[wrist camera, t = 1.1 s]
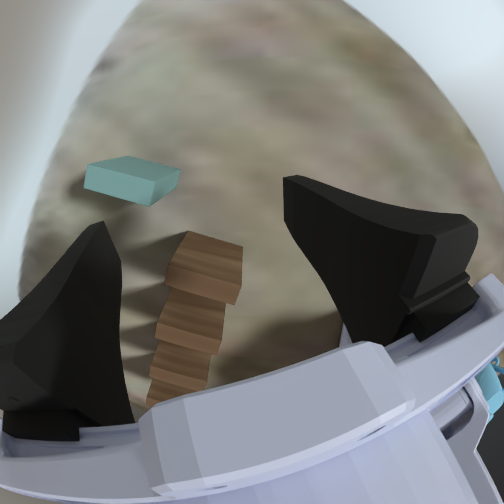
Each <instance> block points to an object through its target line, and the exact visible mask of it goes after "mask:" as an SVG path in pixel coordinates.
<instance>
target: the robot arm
mask: <svg viewBox="0 0 504 504" xmlns="http://www.w3.org/2000/svg"><path fill="white" fill-rule="evenodd" d="M283 197H284V221H285V223H286V225H287V228H288V230H289V232H290V233H291V235H292V237H293V239H294V240H295V242H296V243H297V245H298V246H299V248H300V249H301V250H302V252H303V253H304V255H305V256H306V258H307V259H308V260H309V262H310V263H311V265H312V266H313V267H314V269H315V270H316V272H317V273H318V274H319V276H320V277H321V279H322V281H323V282H324V284H325V286H326V287H327V289H328V291H329V293H330V295H331V297H332V299H333V301H334V303H335V305H336V307H337V309H338V311H339V313H340V316H341V318H342V320H343V328H342V333H341V338H340V344H339V347H338V348H336V349H333V350H331V351H328V352H326V353H323V354H320V355H318V356H315V357H312V358H310V359H307V360H304V361H301V362H298V363H296V364H293V365H290V366H287V367H284V368H281V369H278V370H275V371H272V372H268V373H265V374H262V375H259V376H255V377H252V378H249V379H245V380H242V381H238V382H234V383H231V384H227V385H223V386H219V387H215V388H211V389H207V390H203V391H198V392H194V393H190V394H185V395H182V396H179V397H176V398H173V399H169V400H166V401H163V402H160V403H157V404H155V405H154V406H153V407H152V408H151V409H149V410H148V411H147V412H146V413H145V414H144V415H143V416H142V417H141V418H140V419H139V420H138V423H135V421H134V417H133V414H132V410H131V407H130V402H129V398H128V394H127V389H126V384H125V379H124V373H123V366H122V359H121V350H120V340H119V324H120V306H121V291H122V269H121V260H120V258H119V256H118V253H117V251H116V249H115V247H114V244H113V242H112V240H111V237H110V235H109V233H108V230H107V228H106V225H105V223H104V221H101V222H98V223H95V224H92V225H90V226H88V227H87V228H86V229H85V230H84V231H83V232H82V233H81V235H80V236H79V237H78V238H77V239H76V240H75V242H74V243H73V244H72V245H71V246H70V247H69V249H68V250H67V251H66V252H65V254H64V255H63V256H62V257H61V258H60V260H59V261H58V262H57V263H56V264H55V265H54V267H53V268H52V269H51V270H50V271H49V273H48V274H47V275H46V276H45V277H44V278H43V279H42V280H41V282H40V283H39V284H38V285H37V286H36V287H35V288H34V289H33V290H32V291H31V292H30V293H29V294H28V295H27V296H26V297H25V298H24V299H23V300H22V301H21V302H20V303H19V304H18V305H17V306H15V308H13V309H12V310H11V311H10V312H9V313H8V314H7V315H5V316H4V317H3V318H2V319H1V320H0V409H1V410H3V411H4V414H3V419H2V418H0V487H2V488H5V489H7V490H11V491H13V492H16V493H20V494H23V495H26V496H30V497H35V498H39V499H43V500H48V501H53V502H58V503H63V504H503V502H502V499H501V497H500V495H499V493H498V491H497V489H496V487H495V484H494V482H493V480H492V478H491V476H490V475H489V473H488V471H487V469H486V467H485V465H484V463H483V461H482V459H481V457H480V455H479V454H478V452H477V450H476V447H477V445H478V443H479V440H480V438H481V436H482V434H483V431H484V429H485V426H486V424H487V422H488V419H489V416H490V413H489V411H488V410H489V405H488V403H487V402H486V400H485V398H484V396H483V395H482V390H481V388H480V386H479V384H478V383H477V381H476V379H475V378H474V377H475V376H476V375H477V374H478V373H479V372H480V371H481V370H482V369H483V368H484V367H486V366H487V365H488V364H489V363H490V362H491V361H492V360H493V359H494V358H495V357H496V356H497V355H498V354H499V352H500V351H501V350H502V349H503V348H504V286H503V284H502V283H501V282H500V281H499V280H498V279H497V278H496V277H495V276H494V275H493V274H492V273H490V274H488V275H487V276H485V277H484V278H482V279H481V280H479V281H478V282H477V283H476V284H475V285H474V286H473V288H472V287H471V286H470V285H469V284H468V283H467V282H468V281H469V280H470V276H469V275H468V274H467V273H466V272H465V269H466V267H467V265H468V263H469V261H470V259H471V256H472V254H473V252H474V249H475V247H476V244H477V240H478V228H477V226H476V224H475V223H473V222H472V221H471V220H470V219H469V218H467V217H466V216H464V215H462V214H451V213H437V212H429V211H422V210H415V209H409V208H404V207H399V206H394V205H390V204H386V203H382V202H378V201H375V200H371V199H367V198H364V197H361V196H358V195H355V194H352V193H349V192H346V191H343V190H341V189H338V188H335V187H332V186H330V185H327V184H324V183H322V182H319V181H316V180H313V179H310V178H307V177H304V176H300V175H294V176H288V177H283ZM464 390H465V391H464ZM465 392H466V393H467V394H466V393H465ZM467 395H468V396H467Z"/></svg>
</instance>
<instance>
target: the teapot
mask: <svg viewBox="0 0 504 504" xmlns="http://www.w3.org/2000/svg"><path fill="white" fill-rule="evenodd" d="M493 361H496V364H495V365H493V364H492V362H493ZM498 364H499V358H498V357H497V356H496V357H495V358H494V359H493V360H492V361H491V362H490V363H489V364H488V365H487V366H486V367H484V368H483V369H482V370H481V371H480V372H479V373H478V374H477V375H476V376H475V377H474V378H475V379H476V381H477V383H478V384H479V386H480V388H481V390H482V395H483V396H484V398H485V400H486V402H487V403H488V405H489V410H488V411H489V413H490V416H489V419H488V422H489V421H490V420H491V419H492V417H493V413H494V412H495V411H496V410H497V409H499V407H501V405H502V404H503V400H504V388H503V389H502V387H501V384H500V381H499V379H498V376H497V374H496V372H500V373H503V374H504V368H503V367H499V366H498ZM495 371H496V372H495ZM464 391H465V390H464ZM465 393H466V392H465ZM466 394H467V393H466ZM467 396H468V395H467ZM488 422H487V423H488Z"/></svg>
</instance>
